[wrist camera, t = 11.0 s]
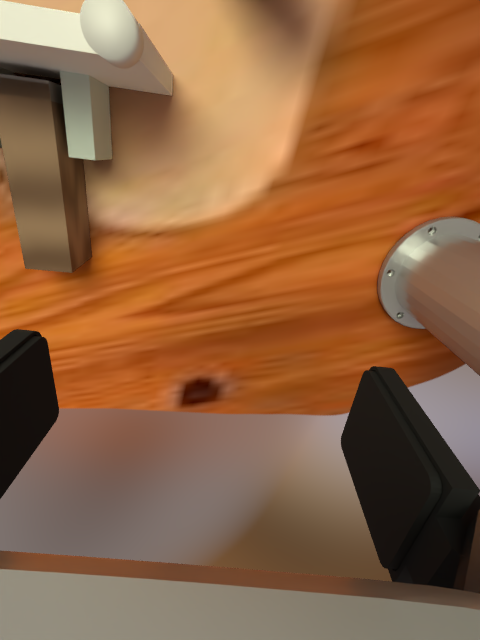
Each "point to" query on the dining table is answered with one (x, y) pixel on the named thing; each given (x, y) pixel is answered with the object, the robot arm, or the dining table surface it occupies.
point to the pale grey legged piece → (83, 63)
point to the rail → (43, 175)
